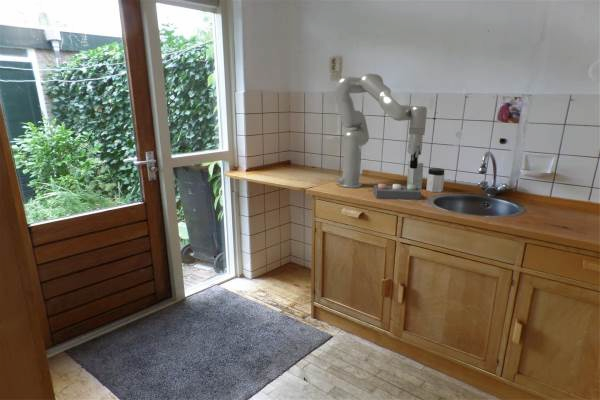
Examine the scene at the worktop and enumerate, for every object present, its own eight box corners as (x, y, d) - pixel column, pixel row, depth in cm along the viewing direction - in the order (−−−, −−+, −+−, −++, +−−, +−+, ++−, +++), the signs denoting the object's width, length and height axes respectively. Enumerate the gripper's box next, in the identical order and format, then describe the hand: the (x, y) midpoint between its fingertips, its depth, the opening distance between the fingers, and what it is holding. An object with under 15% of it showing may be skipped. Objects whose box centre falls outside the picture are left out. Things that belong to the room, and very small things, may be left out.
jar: (423, 189, 220) (425, 168, 217) (434, 188, 223) (436, 167, 220) (434, 193, 212) (436, 171, 209) (445, 191, 215) (448, 170, 212)
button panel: (376, 198, 199) (377, 190, 198) (373, 192, 210) (373, 185, 209) (420, 199, 198) (421, 192, 197) (414, 193, 209) (415, 186, 208)
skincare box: (421, 189, 220) (424, 163, 216) (411, 189, 219) (414, 163, 215) (415, 185, 228) (418, 160, 224) (405, 186, 227) (408, 160, 223)
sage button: (407, 192, 201) (408, 186, 200) (405, 190, 205) (406, 184, 204) (416, 193, 201) (417, 186, 200) (414, 190, 205) (414, 184, 204)
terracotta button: (378, 191, 202) (378, 185, 201) (377, 189, 206) (377, 183, 205) (386, 192, 201) (387, 185, 200) (385, 190, 206) (386, 183, 205)
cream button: (392, 192, 201) (393, 185, 200) (391, 190, 205) (391, 183, 205) (401, 192, 201) (402, 185, 200) (399, 190, 205) (400, 184, 204)
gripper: (405, 130, 202) (402, 165, 207) (412, 132, 188) (409, 170, 192) (420, 130, 202) (417, 165, 207) (428, 133, 187) (424, 171, 192)
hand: (413, 167), depth 200 cm, fingers closed
